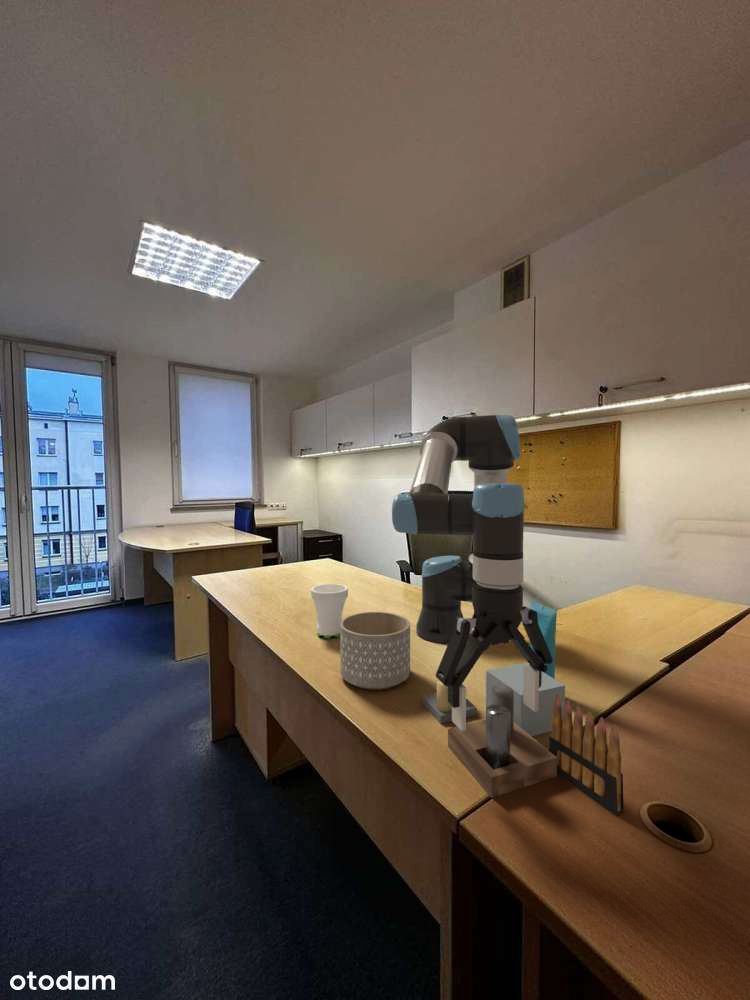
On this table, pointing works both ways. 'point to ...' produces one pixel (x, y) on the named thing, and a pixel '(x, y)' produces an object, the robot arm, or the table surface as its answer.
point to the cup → (329, 607)
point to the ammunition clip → (588, 756)
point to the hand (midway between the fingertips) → (496, 716)
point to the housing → (522, 714)
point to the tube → (547, 631)
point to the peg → (498, 736)
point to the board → (444, 716)
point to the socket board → (525, 752)
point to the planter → (375, 650)
